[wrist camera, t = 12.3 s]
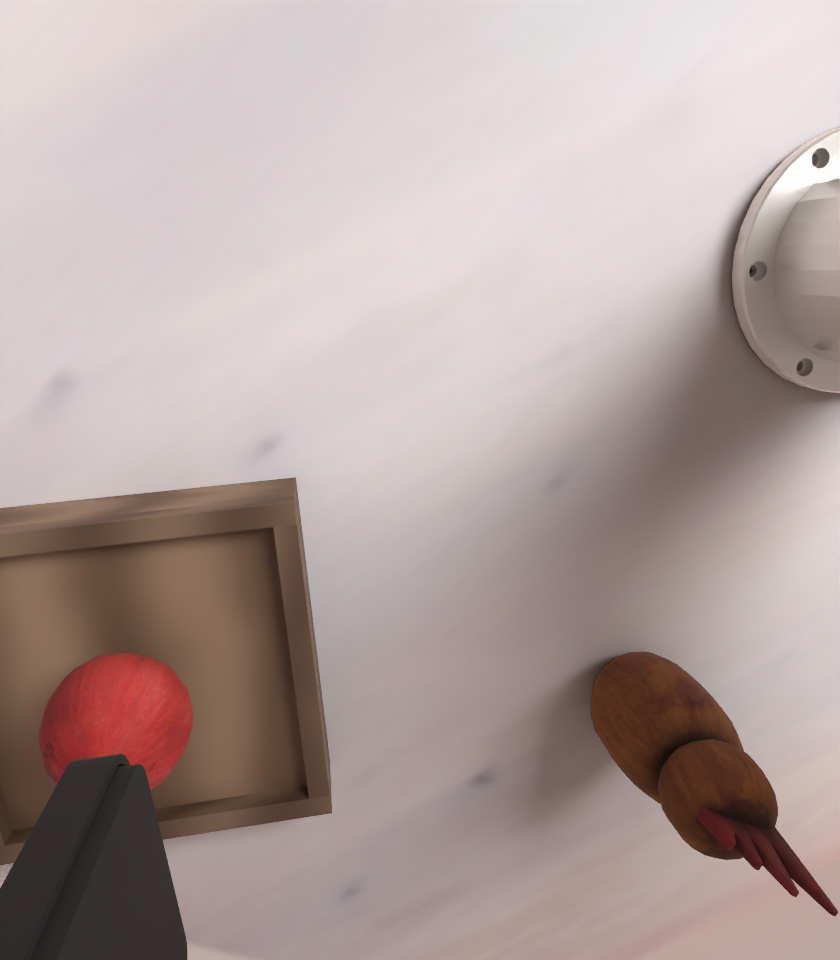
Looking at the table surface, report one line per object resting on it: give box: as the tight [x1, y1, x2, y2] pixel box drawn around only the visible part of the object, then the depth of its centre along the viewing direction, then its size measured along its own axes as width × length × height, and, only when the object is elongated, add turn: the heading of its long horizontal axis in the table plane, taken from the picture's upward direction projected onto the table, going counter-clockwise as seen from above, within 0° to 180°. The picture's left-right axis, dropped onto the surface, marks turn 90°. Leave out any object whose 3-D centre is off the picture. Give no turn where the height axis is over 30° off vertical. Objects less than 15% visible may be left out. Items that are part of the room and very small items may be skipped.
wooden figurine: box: [591, 652, 838, 916], centre depth 35 cm, size 7×6×15 cm
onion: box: [39, 653, 193, 790], centre depth 31 cm, size 6×6×8 cm
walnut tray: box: [0, 478, 332, 865], centre depth 35 cm, size 16×16×4 cm
